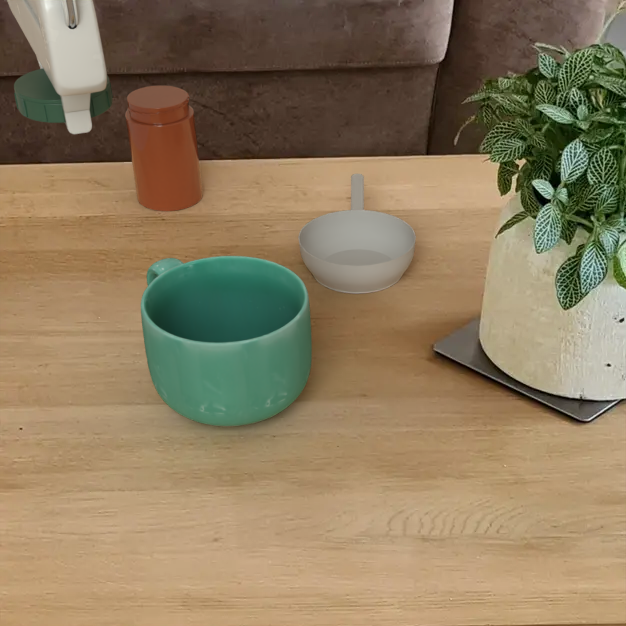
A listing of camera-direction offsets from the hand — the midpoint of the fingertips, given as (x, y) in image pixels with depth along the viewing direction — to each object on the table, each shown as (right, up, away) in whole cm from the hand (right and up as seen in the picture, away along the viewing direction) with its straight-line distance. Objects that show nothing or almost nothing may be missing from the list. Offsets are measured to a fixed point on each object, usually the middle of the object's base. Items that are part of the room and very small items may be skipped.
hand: (67, 109), depth 91 cm
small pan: (+21, -8, +21) cm, 31 cm away
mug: (+12, -22, +3) cm, 25 cm away
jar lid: (0, +2, -1) cm, 2 cm away
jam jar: (+1, -1, +29) cm, 29 cm away
